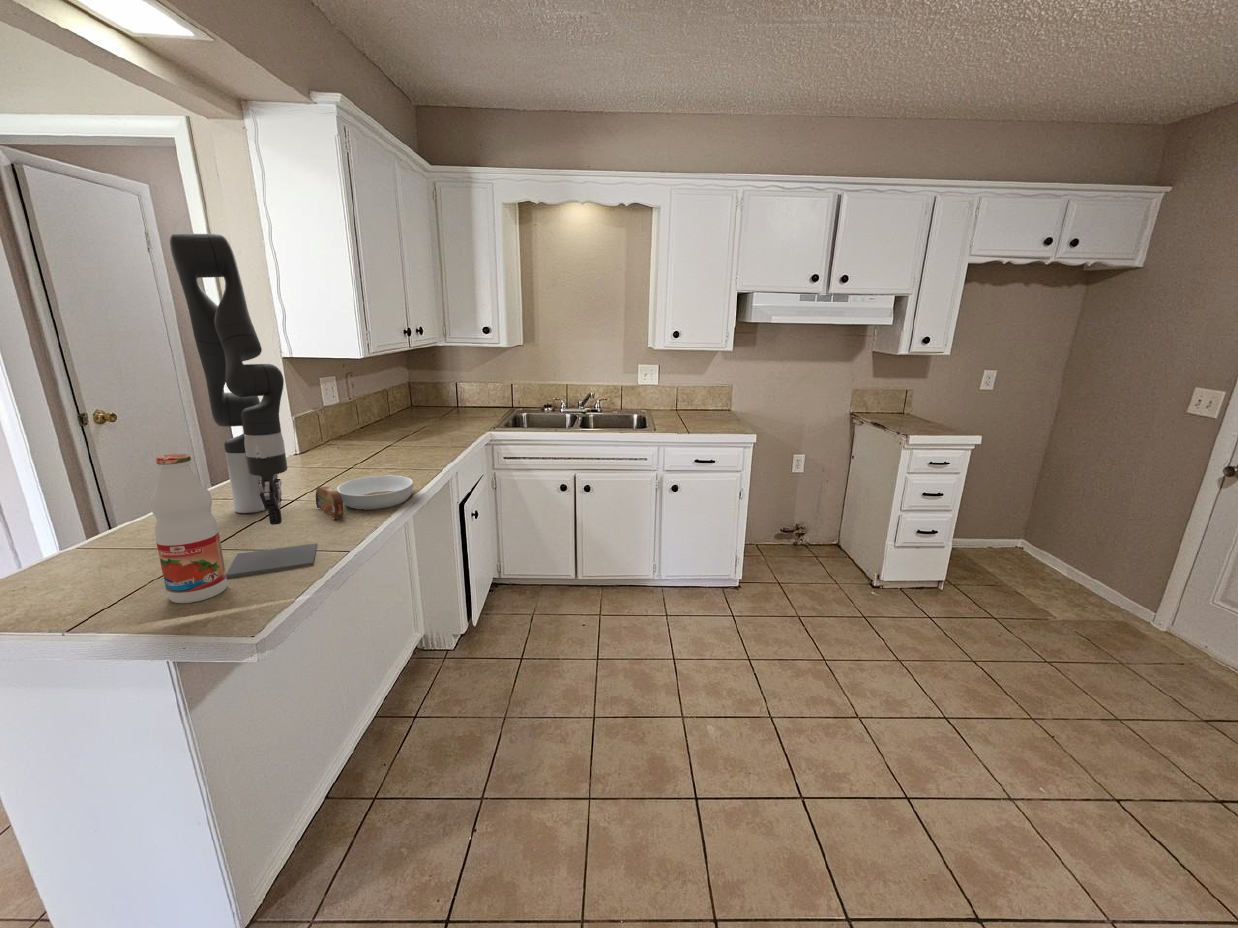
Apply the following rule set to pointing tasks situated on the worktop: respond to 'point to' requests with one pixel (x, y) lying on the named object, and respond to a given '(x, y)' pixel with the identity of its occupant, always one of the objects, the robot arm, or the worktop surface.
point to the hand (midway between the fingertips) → (276, 523)
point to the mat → (272, 560)
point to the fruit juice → (186, 533)
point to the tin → (330, 502)
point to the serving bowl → (359, 487)
